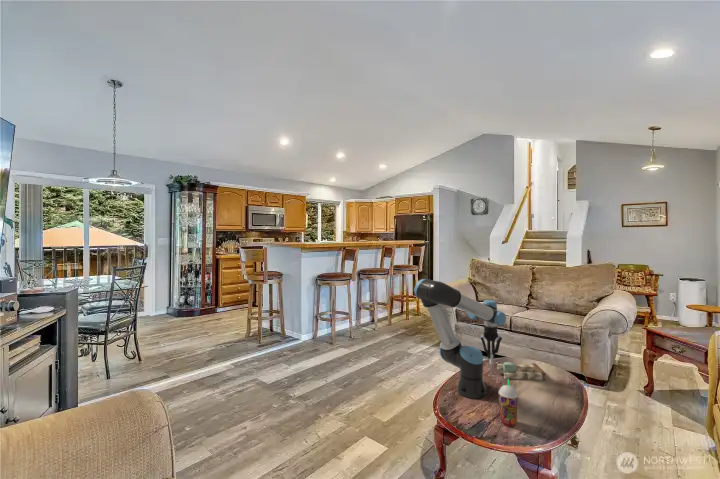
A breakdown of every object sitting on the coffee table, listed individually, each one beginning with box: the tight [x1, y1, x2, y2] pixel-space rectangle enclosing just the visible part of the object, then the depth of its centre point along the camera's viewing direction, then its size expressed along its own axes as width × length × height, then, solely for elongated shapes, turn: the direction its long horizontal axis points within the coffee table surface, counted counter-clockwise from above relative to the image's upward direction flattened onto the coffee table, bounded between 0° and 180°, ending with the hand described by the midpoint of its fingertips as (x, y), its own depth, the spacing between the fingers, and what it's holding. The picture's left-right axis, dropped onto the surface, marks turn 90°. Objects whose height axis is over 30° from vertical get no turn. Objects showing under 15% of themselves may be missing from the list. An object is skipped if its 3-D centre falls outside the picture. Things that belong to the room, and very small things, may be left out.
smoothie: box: [497, 379, 519, 427], centre depth 153 cm, size 8×8×20 cm
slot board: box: [496, 362, 547, 381], centre depth 205 cm, size 23×15×4 cm, turn 84°
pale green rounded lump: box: [502, 361, 517, 374], centre depth 205 cm, size 7×7×6 cm
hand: (491, 363), depth 207 cm, fingers closed
